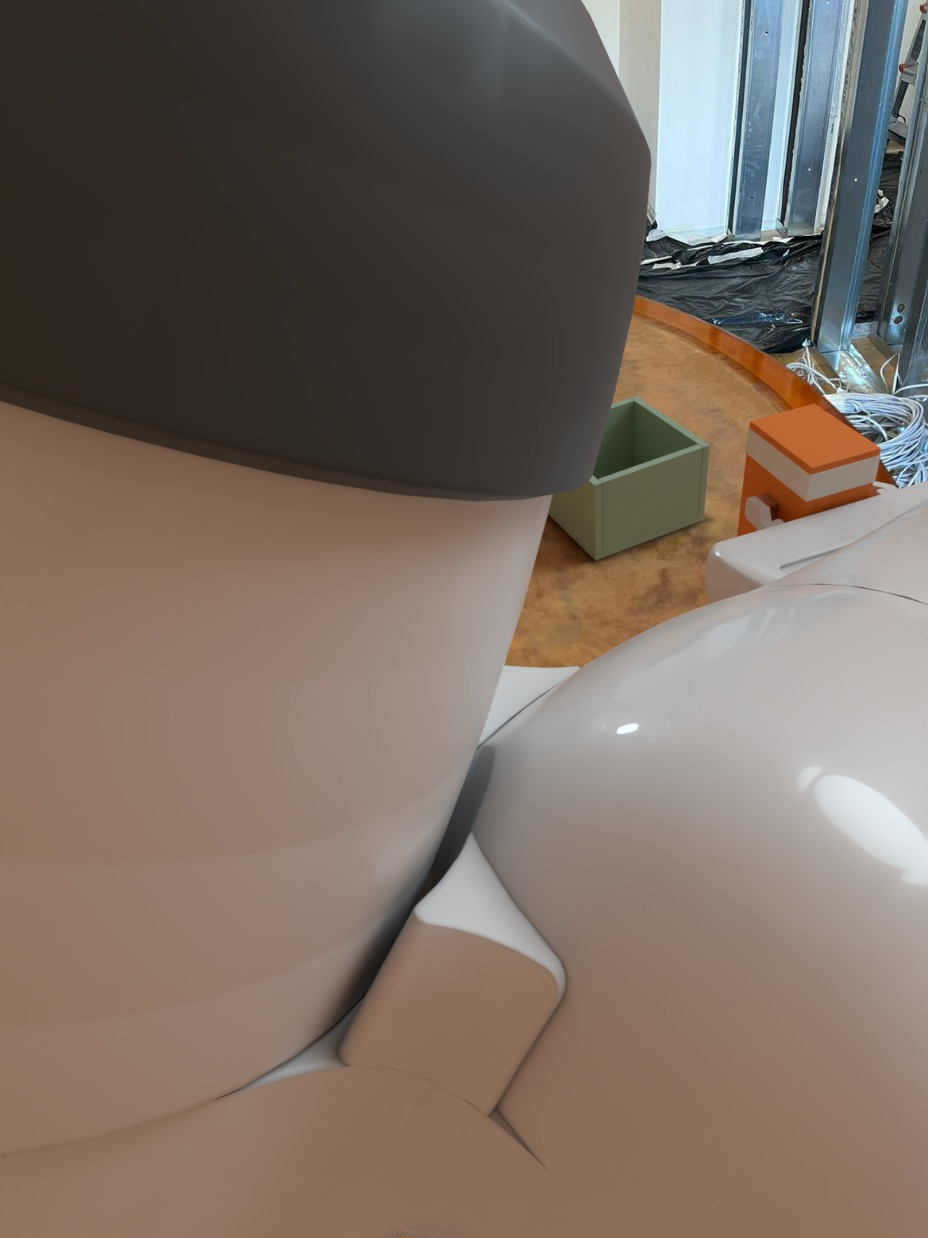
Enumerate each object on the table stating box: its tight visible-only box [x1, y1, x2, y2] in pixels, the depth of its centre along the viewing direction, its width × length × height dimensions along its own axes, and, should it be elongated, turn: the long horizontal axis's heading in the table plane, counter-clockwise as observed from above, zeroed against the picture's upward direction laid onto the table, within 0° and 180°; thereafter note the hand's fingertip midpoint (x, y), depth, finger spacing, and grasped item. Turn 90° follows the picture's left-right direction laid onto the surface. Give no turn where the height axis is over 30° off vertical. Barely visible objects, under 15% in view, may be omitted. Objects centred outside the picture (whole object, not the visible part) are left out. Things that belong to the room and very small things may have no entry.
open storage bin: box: [548, 395, 711, 561], centre depth 87 cm, size 13×13×9 cm
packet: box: [736, 403, 882, 537], centre depth 60 cm, size 5×7×11 cm
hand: (794, 492), depth 60 cm, fingers closed on packet, 5 cm apart
